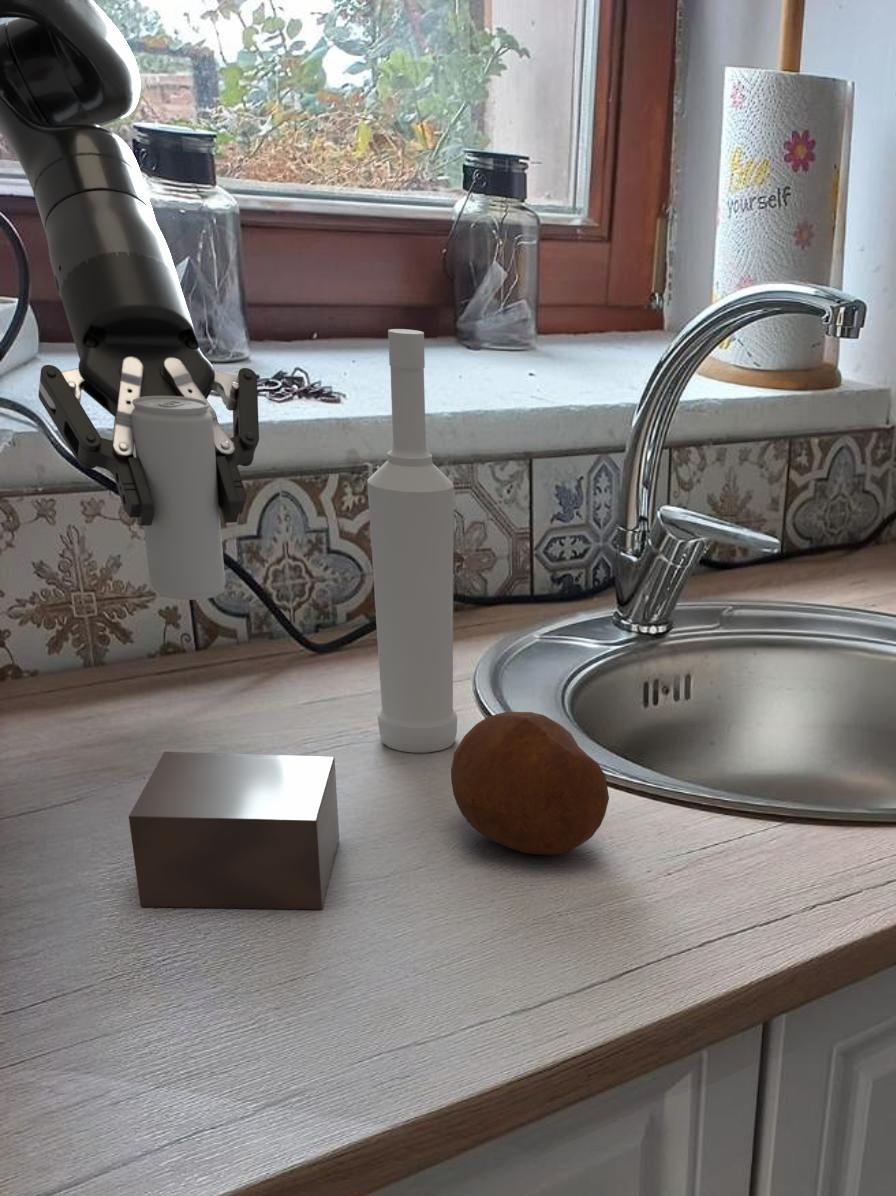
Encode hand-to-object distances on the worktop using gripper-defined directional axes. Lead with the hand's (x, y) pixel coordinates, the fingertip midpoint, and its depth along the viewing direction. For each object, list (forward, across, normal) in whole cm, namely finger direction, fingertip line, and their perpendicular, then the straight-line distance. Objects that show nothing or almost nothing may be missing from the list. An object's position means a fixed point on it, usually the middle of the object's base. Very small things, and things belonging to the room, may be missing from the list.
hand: (191, 516), depth 99 cm
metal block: (+28, -6, -11) cm, 31 cm away
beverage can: (+2, 0, +6) cm, 6 cm away
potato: (+30, +9, -12) cm, 33 cm away
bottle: (+17, +10, 0) cm, 20 cm away
